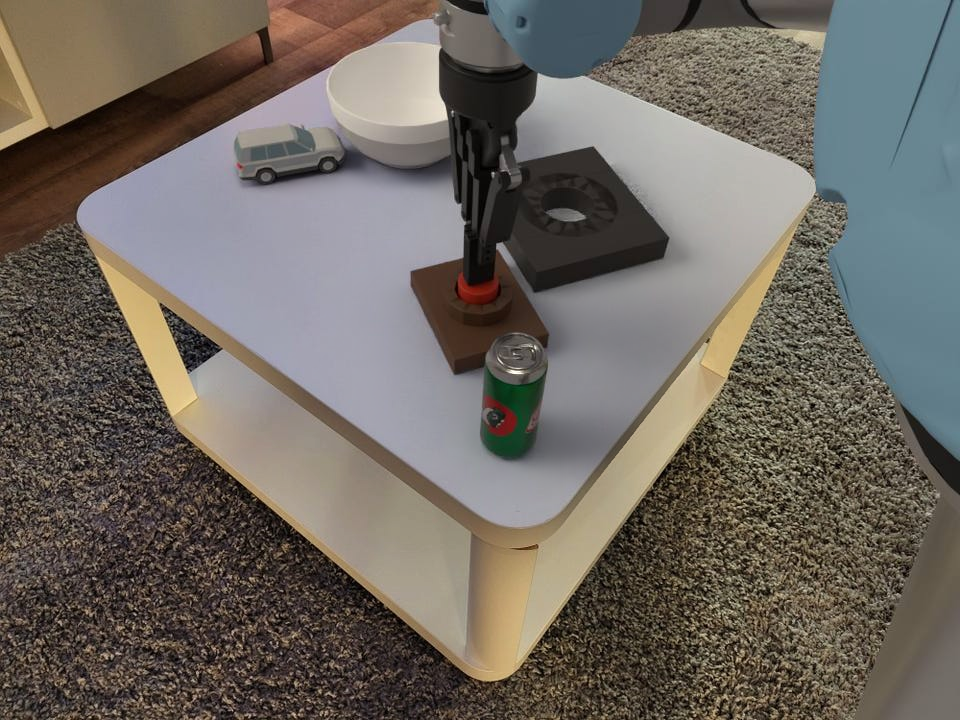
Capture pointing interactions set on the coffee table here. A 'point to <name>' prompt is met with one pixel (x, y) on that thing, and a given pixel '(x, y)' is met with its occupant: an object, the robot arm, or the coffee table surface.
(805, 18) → the robot arm
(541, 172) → the holder
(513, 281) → the brown button base
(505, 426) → the soda can
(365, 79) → the bowl
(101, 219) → the coffee table surface
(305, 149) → the toy car
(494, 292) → the button
